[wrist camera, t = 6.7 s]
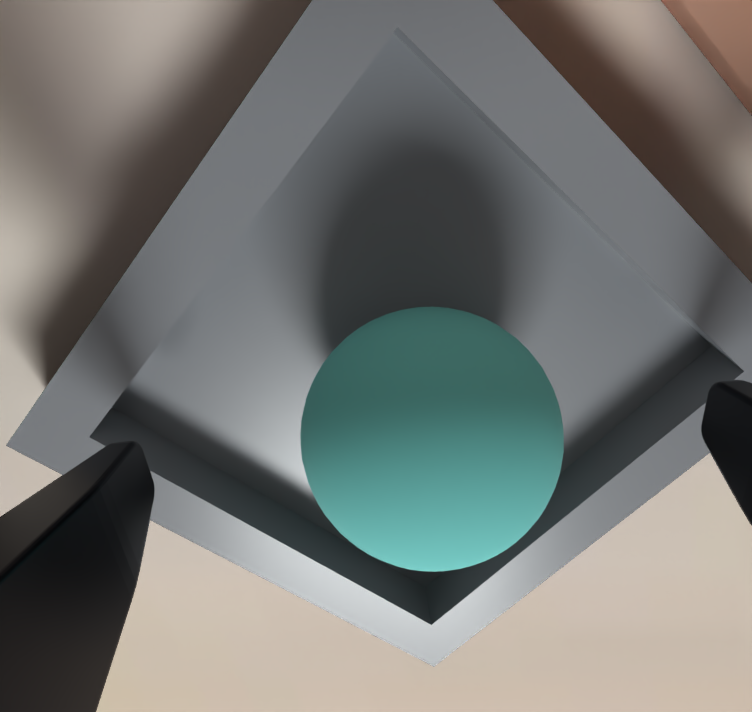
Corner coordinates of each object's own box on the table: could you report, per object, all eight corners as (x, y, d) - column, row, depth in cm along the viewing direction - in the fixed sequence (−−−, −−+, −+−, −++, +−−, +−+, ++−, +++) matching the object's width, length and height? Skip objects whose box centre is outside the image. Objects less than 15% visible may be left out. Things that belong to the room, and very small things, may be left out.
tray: (765, 325, 12) (824, 363, 10) (424, 607, 15) (434, 667, 13) (380, -83, 8) (388, -113, 7) (47, 396, 11) (6, 445, 10)
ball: (563, 358, 11) (674, 502, 7) (421, 491, 12) (456, 670, 9) (404, 223, 10) (446, 322, 6) (262, 389, 11) (227, 550, 7)
